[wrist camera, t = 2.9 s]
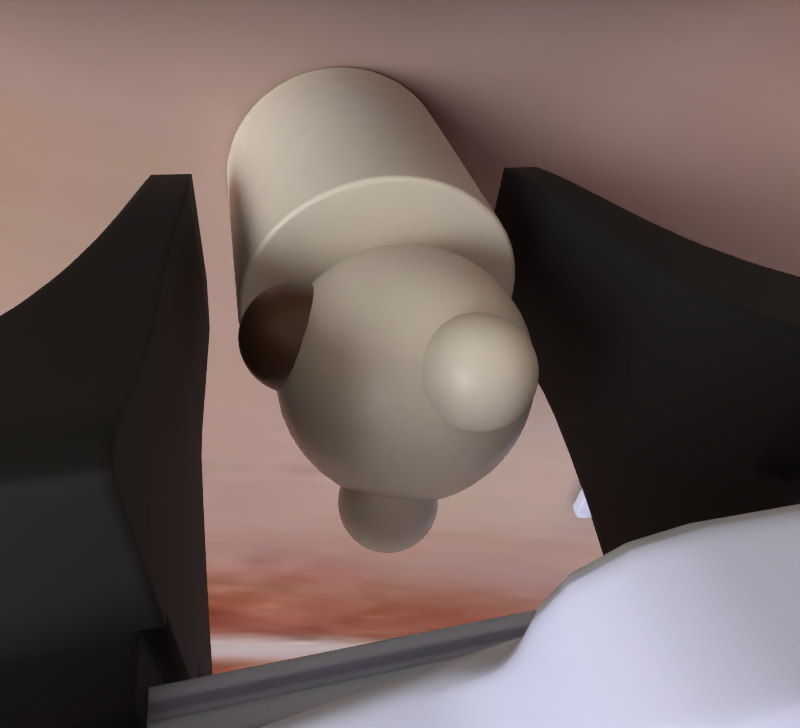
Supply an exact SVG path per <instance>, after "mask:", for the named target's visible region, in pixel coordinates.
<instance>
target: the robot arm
mask: <svg viewBox="0 0 800 728" xmlns="http://www.w3.org/2000/svg"><path fill="white" fill-rule="evenodd" d="M494 213H495V214H496V216H497V217H498V219H499V220H500V222H501V224H502V225H503V227H504V229H505V231H506V233H507V234H508V237H509V240H510V243H511V246H512V248H513V254H514V260H515V282H514V288H513V294H512V298H511V299H512V300H513V301H514V303H515V305H516V306H517V308H518V310H519V311H520V313H521V315H522V317H523V320H524V322H525V324H526V327H527V329H528V332H529V335H530V339H531V342H532V346H533V348H534V350H535V353H536V356H537V360H538V367H539V377H538V383H539V385H540V387H541V389H542V390H543V392H544V394H545V396H546V398H547V400H548V403H549V405H550V407H551V409H552V411H553V413H554V415H555V418H556V420H557V423H558V426H559V428H560V431H561V433H562V436H563V438H564V441H565V443H566V446H567V448H568V451H569V453H570V456H571V459H572V462H573V464H574V467H575V470H576V473H577V476H578V479H579V481H580V484H581V487H582V489H581V491H580V493H579V495H578V497H577V499H576V501H575V503H574V505H573V510H574V512H575V514H576V516H577V517H579V518H591V517H592V520H593V523H594V527H595V530H596V533H597V536H598V539H599V543H600V546H601V549H602V552H603V556H602V557H600V558H598V559H596V560H595V561H593V562H591V563H589V564H587V565H586V566H584V567H582V568H580V569H579V570H577V571H575V572H573V573H571V574H570V575H569V576H568V577H567V578H566V579H565V580H564V581H563V582H562V583H561V584H560V585H559V586H558V587H557V588H556V589H555V590H554V592H553V593H552V594H551V595H550V596H549V597H548V598H547V599H546V600H545V601H544V602H543V603H542V604H541V605H540V606H539V608H538V610H533V611H528V612H523V613H518V614H513V615H508V616H503V617H498V618H493V619H488V620H483V621H478V622H473V623H468V624H463V625H458V626H453V627H448V628H443V629H438V630H433V631H428V632H423V633H418V634H413V635H408V636H403V637H398V638H393V639H388V640H383V641H378V642H373V643H368V644H363V645H358V646H353V647H348V648H343V649H339V650H334V651H329V652H324V653H319V654H314V655H309V656H304V657H299V658H294V659H289V660H284V661H279V662H274V663H269V664H264V665H259V666H254V667H249V668H244V669H239V670H234V671H229V672H224V673H219V674H214V675H212V660H211V643H210V627H209V609H208V590H207V572H206V552H205V531H204V509H203V484H202V459H201V452H202V425H203V412H204V398H205V385H206V371H207V358H208V343H209V328H210V327H209V309H208V293H207V278H206V271H205V264H204V257H203V250H202V244H201V237H200V230H199V223H198V216H197V209H196V202H195V195H194V188H193V181H192V174H173V175H151V176H150V177H149V178H148V179H147V180H146V181H145V182H144V183H143V185H142V186H141V187H140V188H139V190H138V191H137V192H136V193H135V195H134V196H133V197H132V198H131V200H130V201H129V202H128V203H127V205H126V206H125V207H124V208H123V209H122V211H121V212H120V213H119V214H118V215H117V217H116V218H115V219H114V220H113V221H112V222H111V223H110V225H109V226H108V227H107V228H106V229H105V230H104V231H103V232H102V234H101V235H100V236H99V237H98V238H97V239H96V240H95V241H94V242H93V243H92V244H91V245H90V246H89V247H88V248H87V249H86V250H85V251H84V252H83V253H82V254H81V255H80V256H79V257H78V258H77V259H75V260H74V261H73V262H72V263H71V264H70V265H69V266H68V267H67V268H66V269H64V270H63V271H62V272H61V273H60V274H59V275H57V276H56V277H55V278H54V279H52V280H51V281H50V282H49V283H47V284H46V285H45V286H43V287H42V288H41V289H39V290H38V291H37V292H35V293H34V294H33V295H31V296H30V297H29V298H27V299H26V300H24V301H23V302H22V303H20V304H19V305H17V306H16V307H14V308H13V309H11V310H9V311H8V312H6V313H4V314H3V315H1V316H0V728H800V277H798V276H795V275H791V274H788V273H784V272H781V271H777V270H774V269H770V268H767V267H763V266H760V265H757V264H754V263H751V262H748V261H745V260H742V259H739V258H736V257H734V256H731V255H728V254H726V253H723V252H720V251H717V250H715V249H712V248H709V247H707V246H704V245H701V244H699V243H696V242H694V241H692V240H689V239H687V238H684V237H682V236H680V235H678V234H676V233H673V232H671V231H669V230H667V229H665V228H662V227H660V226H658V225H656V224H654V223H651V222H649V221H647V220H645V219H643V218H641V217H639V216H637V215H635V214H633V213H631V212H629V211H627V210H625V209H623V208H621V207H619V206H617V205H615V204H613V203H611V202H609V201H608V200H606V199H604V198H602V197H600V196H598V195H596V194H594V193H592V192H590V191H588V190H586V189H584V188H582V187H580V186H578V185H577V184H575V183H573V182H571V181H568V180H566V179H564V178H562V177H560V176H558V175H556V174H553V173H551V172H548V171H546V170H543V169H540V168H537V167H516V168H504V171H503V175H502V180H501V184H500V189H499V193H498V198H497V202H496V207H495V211H494Z"/></svg>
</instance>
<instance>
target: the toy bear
mask: <svg viewBox="0 0 800 728" xmlns="http://www.w3.org/2000/svg"><path fill="white" fill-rule="evenodd" d="M227 184H228V196H229V209H230V221H231V233H232V245H233V258H234V270H235V282H236V294H237V307H238V319H239V324H240V327H239V334H238V341H239V349H240V353H241V356H242V358H243V361H244V363H245V365H246V366H247V368H248V369H249V371H250V372H251V373H252V375H253V376H254V377H255V378H256V379H257V380H259V381H260V382H261V383H263V384H264V385H266V386H268V387H269V388H271V389H274V390H276V391H277V394H278V399H279V403H280V408H281V412H282V415H283V417H284V420H285V422H286V424H287V427H288V429H289V431H290V434H291V436H292V437H293V439H294V440H295V442H296V444H297V445H298V447H299V448H300V449H301V451H302V452H303V454H304V455H305V456H306V457H307V459H308V460H309V461H310V462H311V463H312V464H313V465H314V466H315V467H316V468H317V469H318V470H319V471H320V472H321V473H323V474H324V475H325V476H327V477H328V478H330V479H331V480H332V481H334V482H335V483H337V484H338V485H340V486H341V487H340V491H339V499H338V506H339V513H340V517H341V520H342V522H343V525H344V527H345V528H346V530H347V531H348V533H349V534H350V535H351V537H352V538H353V539H354V540H356V541H357V542H358V543H359V544H361V545H362V546H364V547H366V548H368V549H370V550H373V551H377V552H383V553H394V552H399V551H403V550H405V549H408V548H410V547H412V546H414V545H415V544H416V543H418V542H419V541H420V540H421V539H422V538H423V537H424V536H425V535H426V534H427V533H428V531H429V530H430V528H431V526H432V524H433V522H434V520H435V517H436V513H437V505H438V499H441V498H444V497H447V496H450V495H453V494H455V493H458V492H460V491H462V490H464V489H466V488H468V487H470V486H471V485H473V484H474V483H476V482H477V481H479V480H480V479H482V478H483V477H485V476H486V475H487V474H488V473H490V472H491V471H492V470H493V469H494V468H495V467H496V466H497V465H498V464H499V463H500V462H501V461H502V460H503V459H504V457H505V456H506V455H507V454H508V453H509V451H510V450H511V449H512V447H513V446H514V444H515V443H516V441H517V439H518V437H519V435H520V433H521V432H522V430H523V428H524V426H525V423H526V421H527V418H528V415H529V412H530V408H531V405H532V401H533V397H534V394H535V392H536V388H537V384H538V377H539V367H538V360H537V356H536V353H535V350H534V348H533V346H532V342H531V339H530V335H529V332H528V329H527V327H526V324H525V322H524V320H523V317H522V315H521V313H520V311H519V310H518V308H517V306H516V305H515V303H514V301H513V300H512V299H511V298H512V294H513V288H514V282H515V260H514V254H513V248H512V246H511V243H510V240H509V237H508V234H507V233H506V231H505V229H504V227H503V225H502V224H501V222H500V220H499V219H498V217H497V216H496V214H495V213H494V211H493V210H492V208H491V207H490V205H489V203H488V202H487V200H486V199H485V197H484V196H483V194H482V193H481V191H480V190H479V188H478V187H477V185H476V184H475V182H474V180H473V179H472V177H471V176H470V174H469V173H468V171H467V170H466V168H465V167H464V165H463V164H462V162H461V161H460V159H459V158H458V156H457V154H456V153H455V151H454V150H453V148H452V147H451V145H450V144H449V142H448V141H447V139H446V138H445V136H444V135H443V133H442V132H441V130H440V128H439V127H438V125H437V124H436V122H435V121H434V119H433V118H432V116H431V115H430V113H429V112H428V110H427V109H426V108H425V107H424V105H423V104H422V103H421V101H420V100H419V99H418V98H417V97H415V96H414V95H413V94H412V93H411V92H410V91H409V90H408V89H406V88H405V87H403V86H402V85H400V84H399V83H398V82H396V81H394V80H392V79H390V78H388V77H386V76H384V75H381V74H378V73H375V72H372V71H368V70H363V69H357V68H345V67H335V68H324V69H319V70H315V71H310V72H306V73H304V74H301V75H298V76H296V77H293V78H291V79H289V80H287V81H285V82H284V83H282V84H280V85H278V86H277V87H275V88H274V89H273V90H271V91H270V92H269V93H267V94H266V95H265V96H263V97H262V98H261V99H260V100H259V101H258V102H257V103H256V104H255V105H254V106H253V107H252V109H251V110H250V111H249V113H248V114H247V115H246V117H245V118H244V119H243V121H242V123H241V125H240V127H239V128H238V130H237V132H236V134H235V137H234V140H233V142H232V145H231V148H230V153H229V158H228V165H227Z"/></svg>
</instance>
